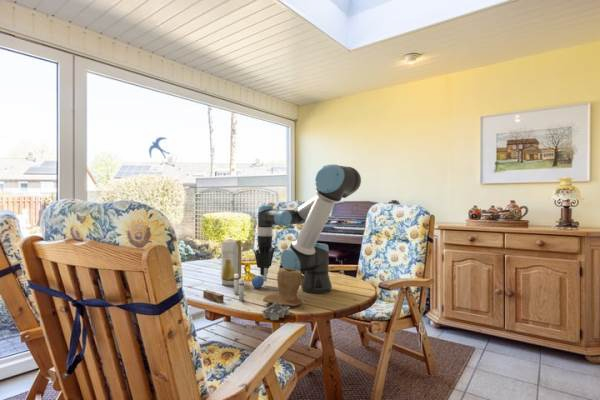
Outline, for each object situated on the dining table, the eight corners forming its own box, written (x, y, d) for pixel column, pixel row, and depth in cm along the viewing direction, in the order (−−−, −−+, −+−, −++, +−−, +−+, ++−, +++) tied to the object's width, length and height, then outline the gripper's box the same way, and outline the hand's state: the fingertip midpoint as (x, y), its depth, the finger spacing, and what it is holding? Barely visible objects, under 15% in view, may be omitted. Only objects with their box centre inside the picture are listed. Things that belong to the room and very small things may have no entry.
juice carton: (219, 285, 171) (219, 238, 171) (226, 281, 178) (226, 236, 178) (236, 286, 169) (236, 239, 169) (242, 282, 176) (243, 237, 176)
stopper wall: (223, 301, 143) (223, 294, 143) (219, 302, 141) (219, 295, 141) (207, 296, 151) (207, 289, 151) (203, 297, 149) (203, 290, 149)
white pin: (239, 293, 155) (239, 274, 155) (236, 294, 154) (236, 275, 154) (236, 292, 157) (236, 273, 157) (233, 293, 155) (233, 274, 155)
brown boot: (306, 302, 144) (306, 267, 144) (295, 310, 133) (295, 272, 133) (275, 297, 150) (275, 264, 150) (262, 305, 139) (262, 269, 139)
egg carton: (277, 310, 133) (277, 300, 133) (292, 314, 129) (292, 303, 129) (259, 317, 125) (259, 307, 125) (274, 322, 120) (274, 311, 120)
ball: (266, 287, 167) (266, 275, 167) (257, 290, 162) (257, 277, 162) (258, 285, 170) (258, 273, 170) (249, 287, 166) (249, 275, 166)
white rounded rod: (244, 300, 145) (244, 279, 145) (241, 301, 144) (241, 280, 144) (241, 299, 147) (241, 278, 147) (237, 300, 145) (238, 279, 145)
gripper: (269, 233, 178) (268, 277, 178) (250, 235, 168) (249, 281, 169) (279, 235, 173) (278, 280, 173) (259, 236, 163) (258, 284, 163)
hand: (263, 280), depth 171 cm, fingers closed
